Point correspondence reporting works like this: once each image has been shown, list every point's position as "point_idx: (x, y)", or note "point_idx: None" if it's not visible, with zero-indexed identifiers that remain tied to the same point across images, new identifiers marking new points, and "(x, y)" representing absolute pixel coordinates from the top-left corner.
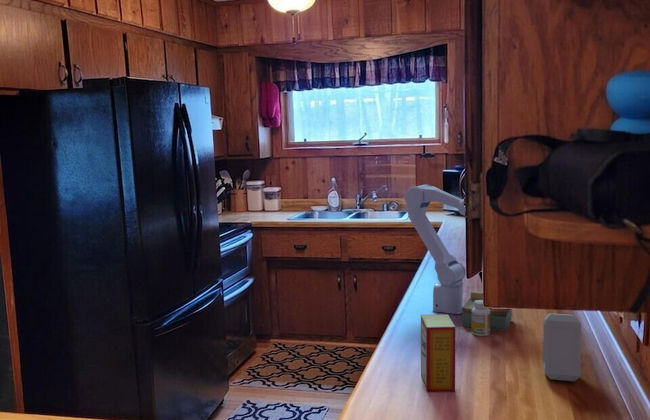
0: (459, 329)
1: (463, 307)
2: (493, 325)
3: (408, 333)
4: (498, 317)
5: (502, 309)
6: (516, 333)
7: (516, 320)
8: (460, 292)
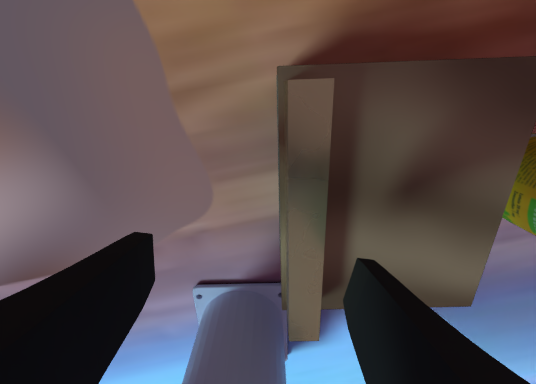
0: None
1: (463, 302)
2: None
3: (519, 357)
4: None
5: (476, 100)
6: (480, 7)
7: (265, 50)
8: (250, 367)
